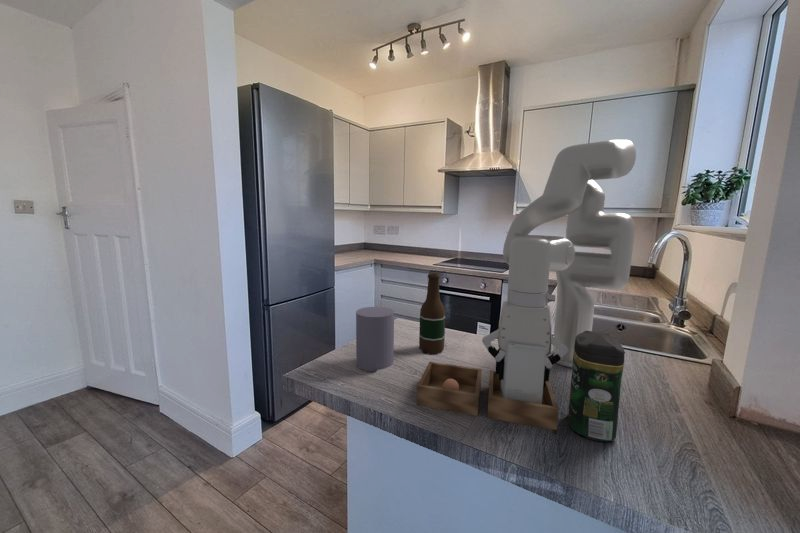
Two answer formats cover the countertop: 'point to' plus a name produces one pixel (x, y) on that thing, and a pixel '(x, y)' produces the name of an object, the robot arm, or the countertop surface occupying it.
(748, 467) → the countertop surface
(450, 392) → the bin
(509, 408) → the bin
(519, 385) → the supplement box
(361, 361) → the container
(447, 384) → the ball
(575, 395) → the coffee jar
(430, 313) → the beer bottle
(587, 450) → the countertop surface
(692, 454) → the countertop surface
